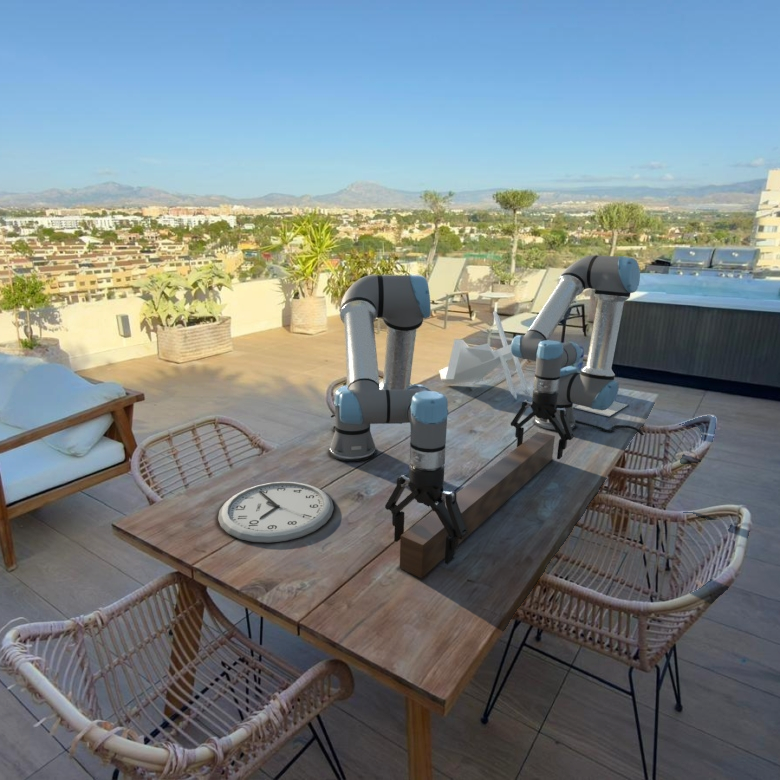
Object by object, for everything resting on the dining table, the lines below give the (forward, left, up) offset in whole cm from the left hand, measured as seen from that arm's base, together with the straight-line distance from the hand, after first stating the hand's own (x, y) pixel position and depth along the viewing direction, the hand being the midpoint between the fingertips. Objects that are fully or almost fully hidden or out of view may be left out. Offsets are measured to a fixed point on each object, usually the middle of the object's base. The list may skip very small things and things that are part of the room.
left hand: (423, 549), depth 118 cm
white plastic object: (-121, +59, -3) cm, 134 cm away
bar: (-23, +25, -3) cm, 34 cm away
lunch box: (-120, +99, -3) cm, 156 cm away
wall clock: (-29, -33, -3) cm, 44 cm away
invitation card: (-93, +104, -3) cm, 140 cm away
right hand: (-46, +51, 0) cm, 69 cm away
